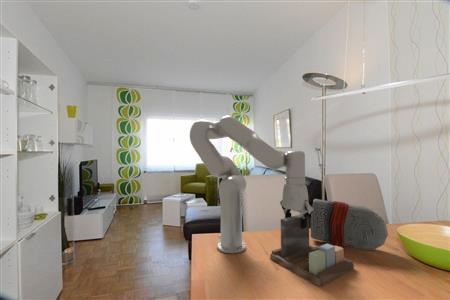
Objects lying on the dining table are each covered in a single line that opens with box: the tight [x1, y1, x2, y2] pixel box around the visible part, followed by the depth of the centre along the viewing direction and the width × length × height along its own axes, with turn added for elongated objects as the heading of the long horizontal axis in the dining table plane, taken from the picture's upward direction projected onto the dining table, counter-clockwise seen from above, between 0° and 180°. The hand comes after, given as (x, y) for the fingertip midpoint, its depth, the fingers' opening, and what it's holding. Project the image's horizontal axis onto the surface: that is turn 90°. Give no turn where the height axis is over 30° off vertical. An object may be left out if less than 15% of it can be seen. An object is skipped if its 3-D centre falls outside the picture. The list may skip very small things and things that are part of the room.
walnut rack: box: [269, 244, 355, 287], centre depth 86 cm, size 22×20×3 cm
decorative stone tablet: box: [310, 198, 389, 251], centre depth 102 cm, size 19×6×30 cm
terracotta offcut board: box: [335, 246, 345, 265], centre depth 83 cm, size 3×5×7 cm, turn 122°
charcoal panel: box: [280, 214, 310, 259], centre depth 92 cm, size 2×14×16 cm, turn 122°
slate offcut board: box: [318, 243, 335, 270], centre depth 80 cm, size 3×5×9 cm, turn 122°
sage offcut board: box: [308, 250, 326, 276], centre depth 77 cm, size 3×5×8 cm, turn 122°
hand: (295, 224), depth 92 cm, fingers open, 7 cm apart
